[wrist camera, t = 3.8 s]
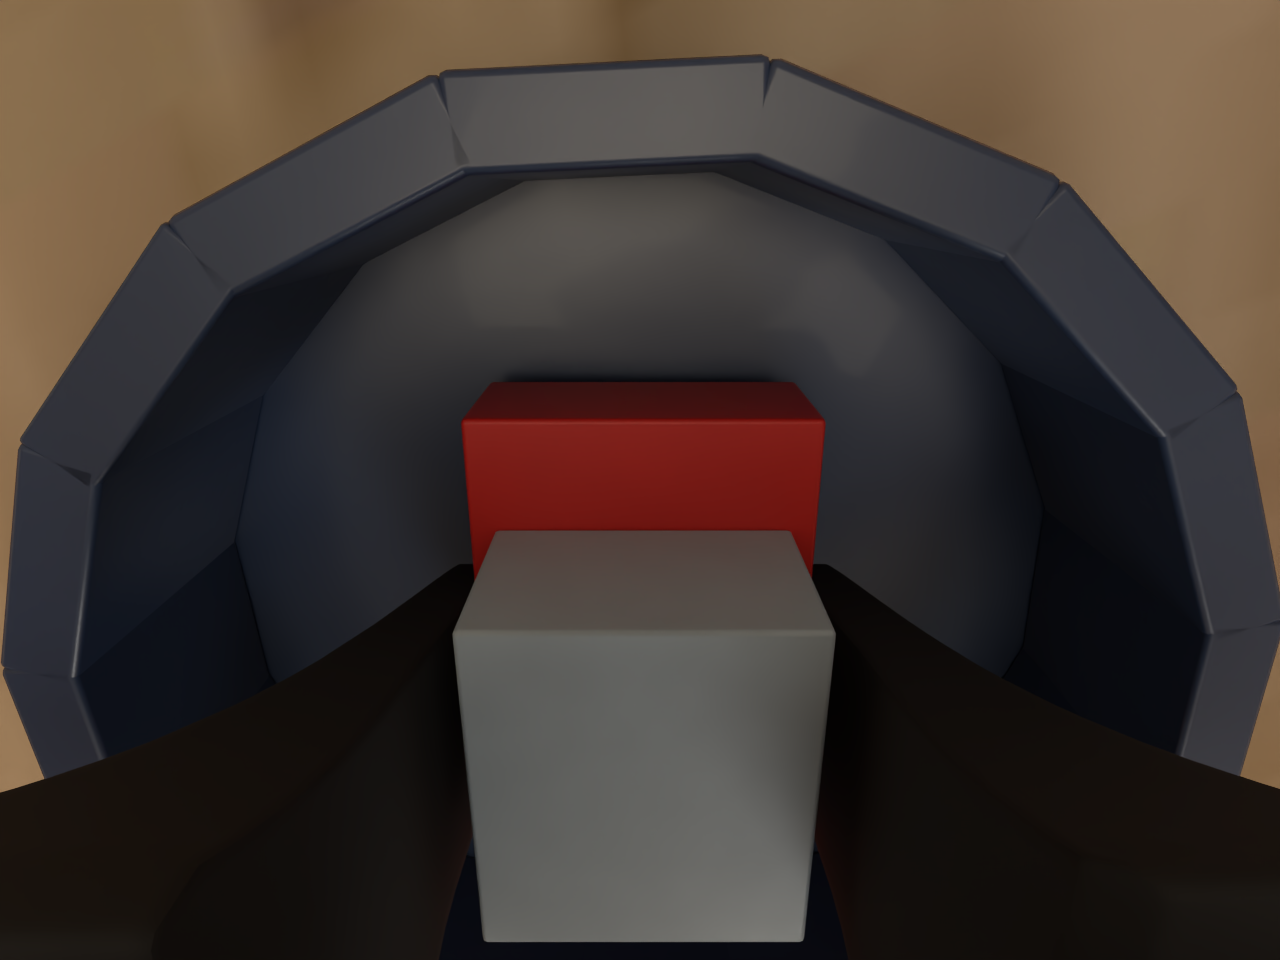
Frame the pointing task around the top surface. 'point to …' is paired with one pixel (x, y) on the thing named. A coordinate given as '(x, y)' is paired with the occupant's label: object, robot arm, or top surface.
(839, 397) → the pot
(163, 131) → the top surface
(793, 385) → the toy car
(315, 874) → the robot arm
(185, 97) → the top surface
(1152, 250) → the top surface
